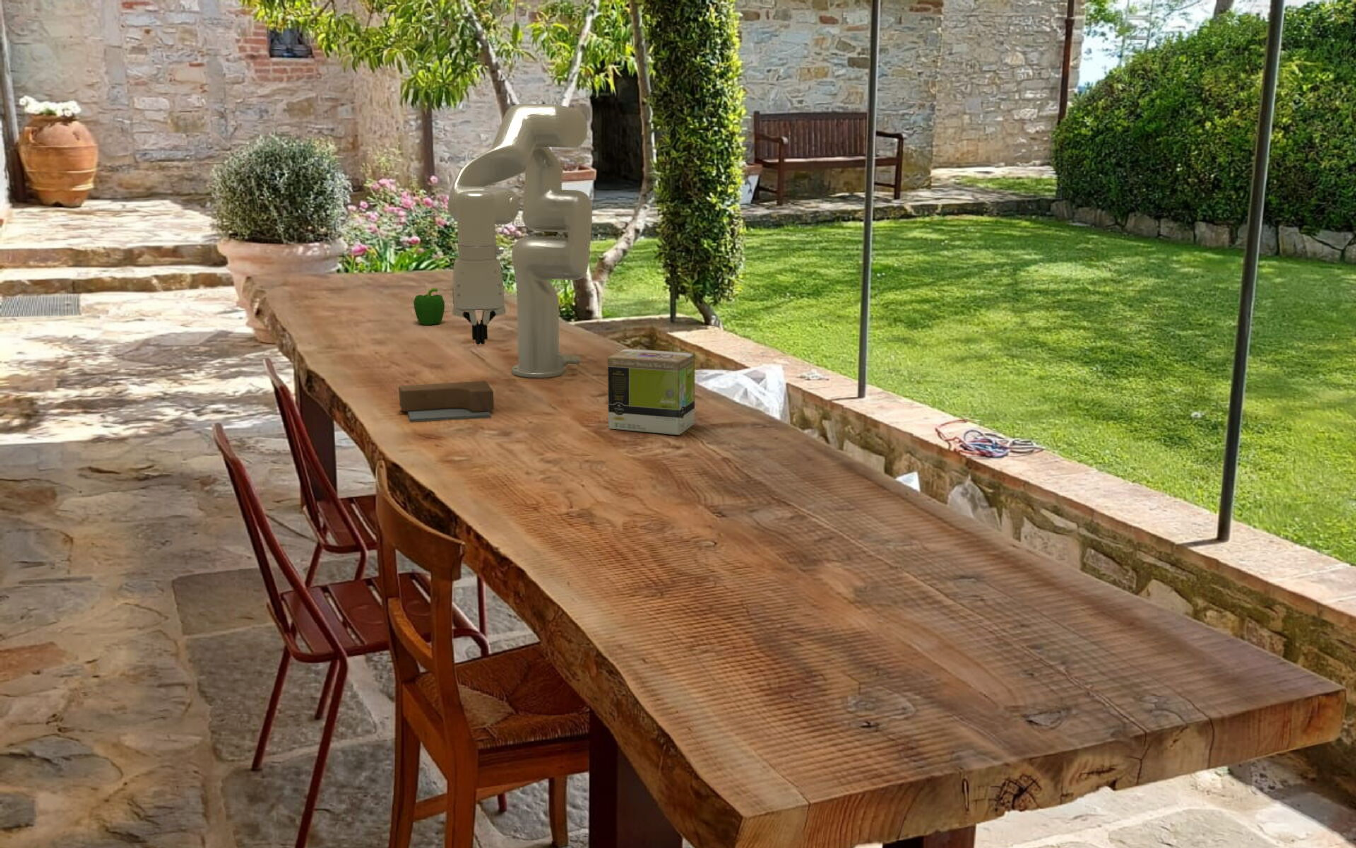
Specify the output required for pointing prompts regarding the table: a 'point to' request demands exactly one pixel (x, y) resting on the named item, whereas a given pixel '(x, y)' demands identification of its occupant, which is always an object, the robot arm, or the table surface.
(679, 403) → the tea box
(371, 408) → the table surface
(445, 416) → the mat
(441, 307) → the bell pepper
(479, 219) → the robot arm
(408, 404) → the wooden block
